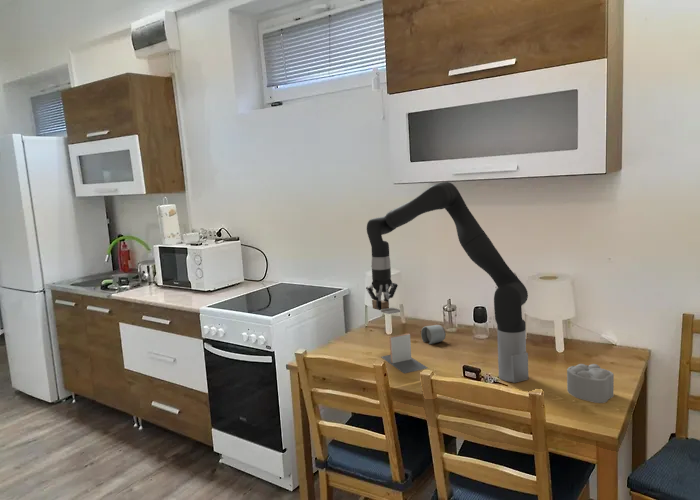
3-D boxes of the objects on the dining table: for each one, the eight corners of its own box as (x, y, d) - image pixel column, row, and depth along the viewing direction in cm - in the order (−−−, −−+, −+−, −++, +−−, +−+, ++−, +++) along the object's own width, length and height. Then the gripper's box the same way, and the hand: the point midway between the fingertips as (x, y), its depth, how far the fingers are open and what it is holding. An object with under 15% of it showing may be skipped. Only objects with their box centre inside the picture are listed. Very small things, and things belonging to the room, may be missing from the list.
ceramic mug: (447, 342, 222) (446, 325, 221) (431, 346, 219) (430, 328, 218) (432, 337, 232) (431, 320, 231) (416, 340, 228) (415, 323, 227)
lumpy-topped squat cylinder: (602, 405, 158) (602, 377, 157) (560, 393, 168) (560, 367, 166) (616, 394, 165) (617, 367, 163) (575, 383, 174) (575, 358, 173)
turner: (369, 308, 221) (369, 300, 220) (380, 307, 222) (380, 298, 222) (388, 314, 204) (387, 305, 204) (400, 312, 206) (399, 303, 205)
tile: (411, 359, 204) (410, 334, 203) (392, 363, 201) (391, 337, 200) (409, 358, 206) (408, 333, 204) (390, 361, 203) (389, 336, 201)
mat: (428, 369, 194) (428, 368, 194) (404, 374, 191) (404, 373, 191) (403, 353, 213) (403, 352, 213) (380, 358, 209) (380, 356, 209)
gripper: (369, 270, 206) (371, 313, 209) (400, 266, 211) (402, 308, 213) (361, 267, 213) (363, 309, 215) (392, 263, 218) (394, 304, 220)
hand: (382, 308), depth 214 cm, fingers closed on turner, 2 cm apart
